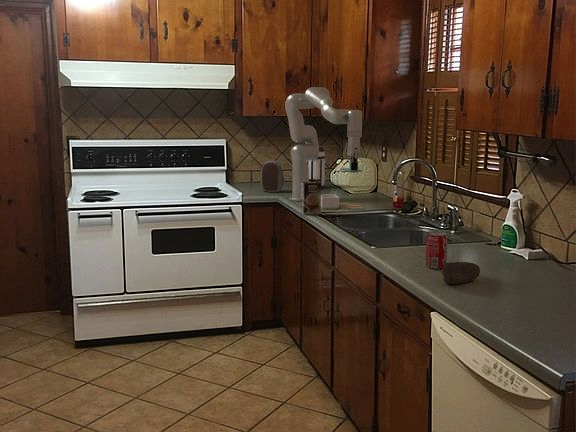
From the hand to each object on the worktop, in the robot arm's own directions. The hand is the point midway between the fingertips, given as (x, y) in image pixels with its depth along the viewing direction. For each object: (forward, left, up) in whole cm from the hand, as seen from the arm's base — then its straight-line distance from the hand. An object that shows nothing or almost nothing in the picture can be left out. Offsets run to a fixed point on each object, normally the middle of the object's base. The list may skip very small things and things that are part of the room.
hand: (353, 169), depth 318 cm
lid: (-6, 0, -2) cm, 6 cm away
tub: (-8, -12, -21) cm, 25 cm away
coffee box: (+11, -24, -21) cm, 34 cm away
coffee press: (-78, -9, -21) cm, 81 cm away
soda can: (+114, +6, -21) cm, 117 cm away
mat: (-7, 0, -21) cm, 22 cm away
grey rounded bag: (-64, -38, -21) cm, 77 cm away
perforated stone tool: (+132, +8, -21) cm, 134 cm away
